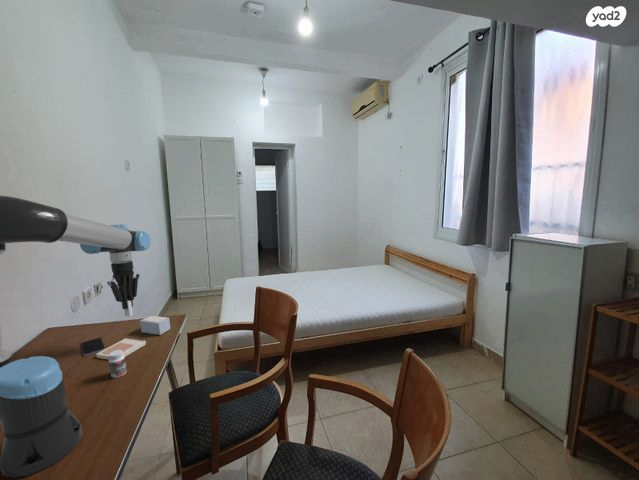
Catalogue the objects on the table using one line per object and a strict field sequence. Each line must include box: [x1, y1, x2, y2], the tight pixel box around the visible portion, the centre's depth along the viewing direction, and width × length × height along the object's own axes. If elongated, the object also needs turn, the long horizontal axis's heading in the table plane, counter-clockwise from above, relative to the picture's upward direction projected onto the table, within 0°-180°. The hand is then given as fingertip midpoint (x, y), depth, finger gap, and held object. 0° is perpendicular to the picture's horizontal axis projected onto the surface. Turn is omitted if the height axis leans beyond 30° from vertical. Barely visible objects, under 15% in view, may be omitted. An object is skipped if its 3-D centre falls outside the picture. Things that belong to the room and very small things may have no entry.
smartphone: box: [80, 337, 106, 357], centre depth 124 cm, size 7×1×15 cm
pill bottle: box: [108, 350, 128, 379], centre depth 104 cm, size 5×5×8 cm
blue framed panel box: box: [139, 315, 171, 336], centre depth 136 cm, size 6×11×6 cm, turn 73°
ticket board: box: [95, 337, 147, 361], centre depth 120 cm, size 13×11×2 cm
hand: (129, 315), depth 124 cm, fingers closed
